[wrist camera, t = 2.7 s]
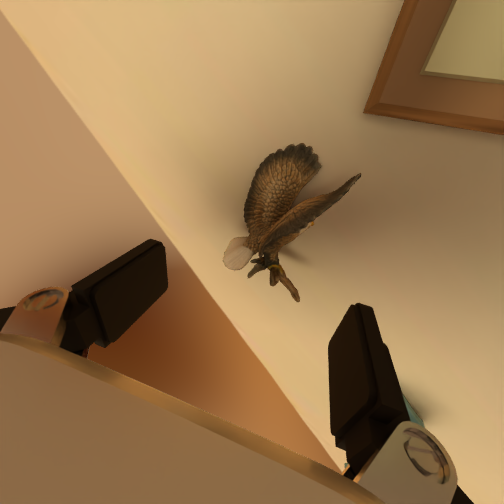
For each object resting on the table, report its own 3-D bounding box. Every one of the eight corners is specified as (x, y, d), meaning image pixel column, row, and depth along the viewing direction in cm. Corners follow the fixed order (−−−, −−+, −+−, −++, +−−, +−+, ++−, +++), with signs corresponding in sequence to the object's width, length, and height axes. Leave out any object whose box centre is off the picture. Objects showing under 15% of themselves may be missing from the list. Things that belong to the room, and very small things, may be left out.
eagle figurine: (331, 279, 17) (394, 170, 11) (266, 325, 13) (305, 201, 7) (270, 230, 21) (291, 131, 15) (208, 255, 17) (202, 139, 11)
